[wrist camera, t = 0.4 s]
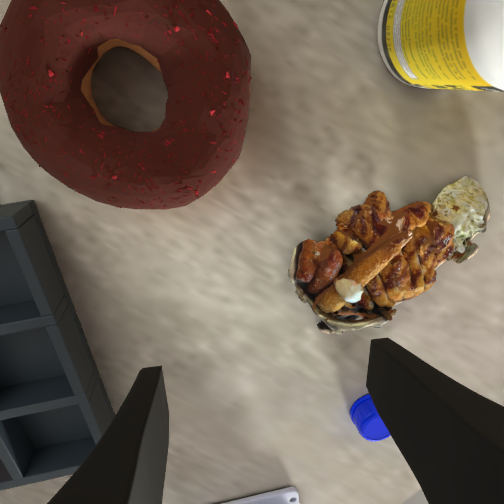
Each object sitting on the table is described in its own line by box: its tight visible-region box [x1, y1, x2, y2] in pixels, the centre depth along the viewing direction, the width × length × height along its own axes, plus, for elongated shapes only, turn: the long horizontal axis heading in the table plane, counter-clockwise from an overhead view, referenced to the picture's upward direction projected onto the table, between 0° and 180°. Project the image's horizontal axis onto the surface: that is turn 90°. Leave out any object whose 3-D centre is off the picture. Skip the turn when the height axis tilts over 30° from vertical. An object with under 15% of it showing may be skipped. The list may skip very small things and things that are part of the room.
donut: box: [0, 0, 251, 209], centre depth 16 cm, size 10×10×4 cm
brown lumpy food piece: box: [288, 176, 490, 335], centre depth 21 cm, size 7×12×4 cm, turn 121°
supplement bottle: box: [378, 0, 504, 92], centre depth 14 cm, size 5×5×10 cm
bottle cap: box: [350, 394, 390, 441], centre depth 28 cm, size 3×3×2 cm
